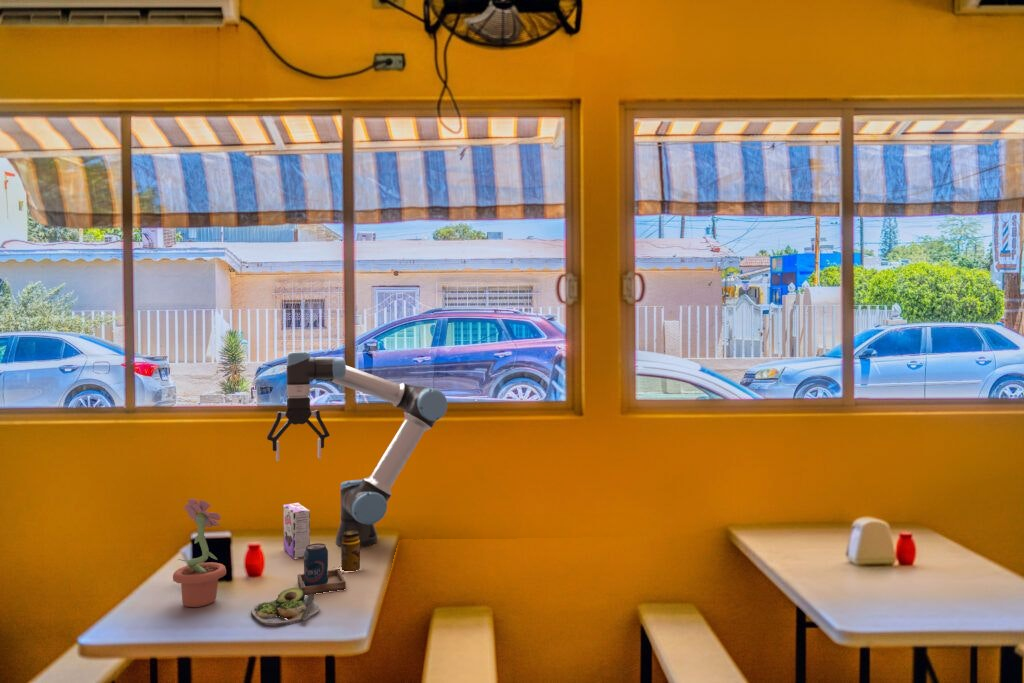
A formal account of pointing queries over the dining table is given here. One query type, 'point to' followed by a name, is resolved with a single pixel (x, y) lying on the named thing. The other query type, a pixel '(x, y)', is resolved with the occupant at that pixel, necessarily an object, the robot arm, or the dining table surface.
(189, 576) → the decorative flower
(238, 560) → the dining table surface
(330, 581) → the walnut tray
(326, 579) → the soda can
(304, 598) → the avocado toast plate
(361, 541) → the robot arm
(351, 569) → the condiment
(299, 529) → the candy box
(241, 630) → the dining table surface
